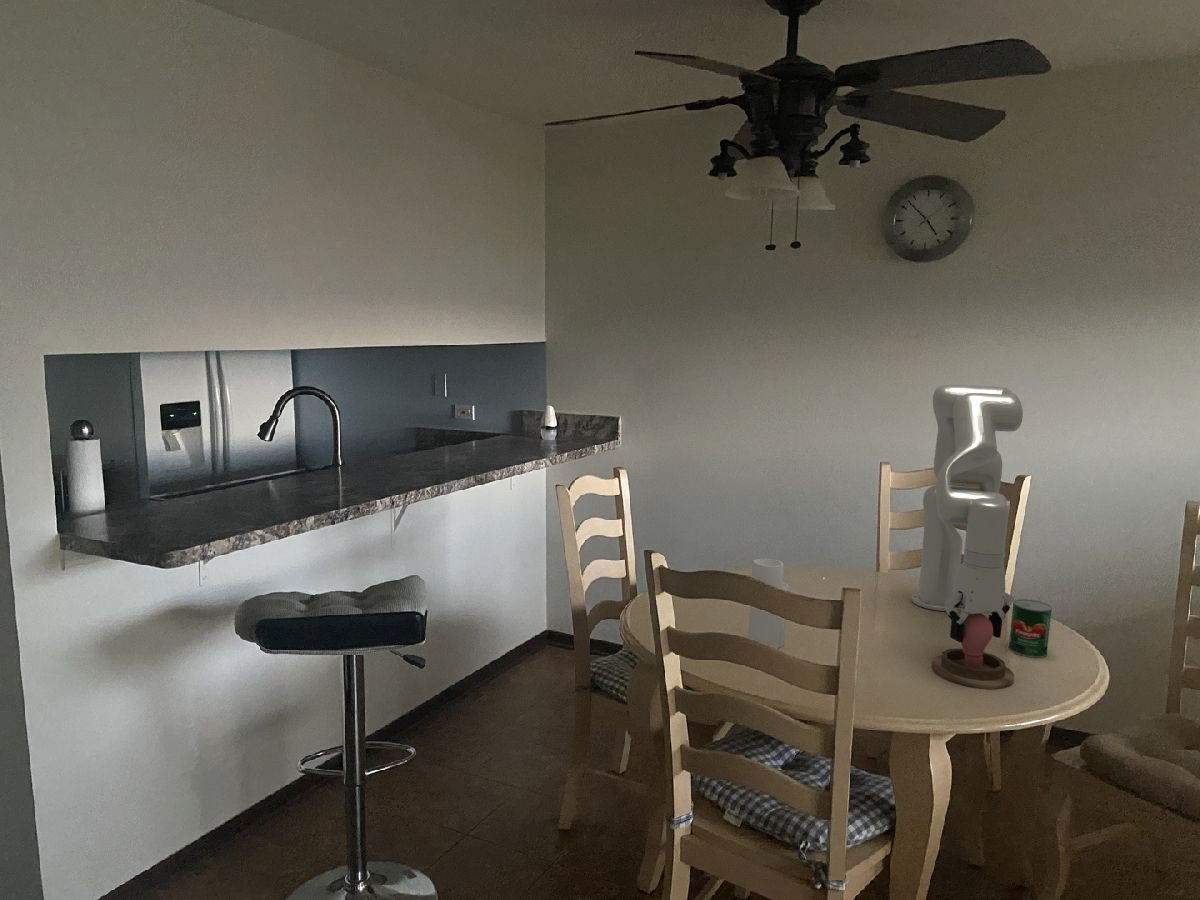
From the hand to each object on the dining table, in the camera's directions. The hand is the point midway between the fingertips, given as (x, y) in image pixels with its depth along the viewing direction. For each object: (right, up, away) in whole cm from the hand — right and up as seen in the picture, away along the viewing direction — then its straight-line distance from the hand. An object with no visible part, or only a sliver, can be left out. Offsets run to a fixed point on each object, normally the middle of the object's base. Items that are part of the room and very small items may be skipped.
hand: (975, 637), depth 183 cm
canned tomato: (+18, -6, +15) cm, 24 cm away
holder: (0, -8, +1) cm, 8 cm away
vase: (-42, -5, +12) cm, 44 cm away
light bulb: (0, -7, +1) cm, 7 cm away
